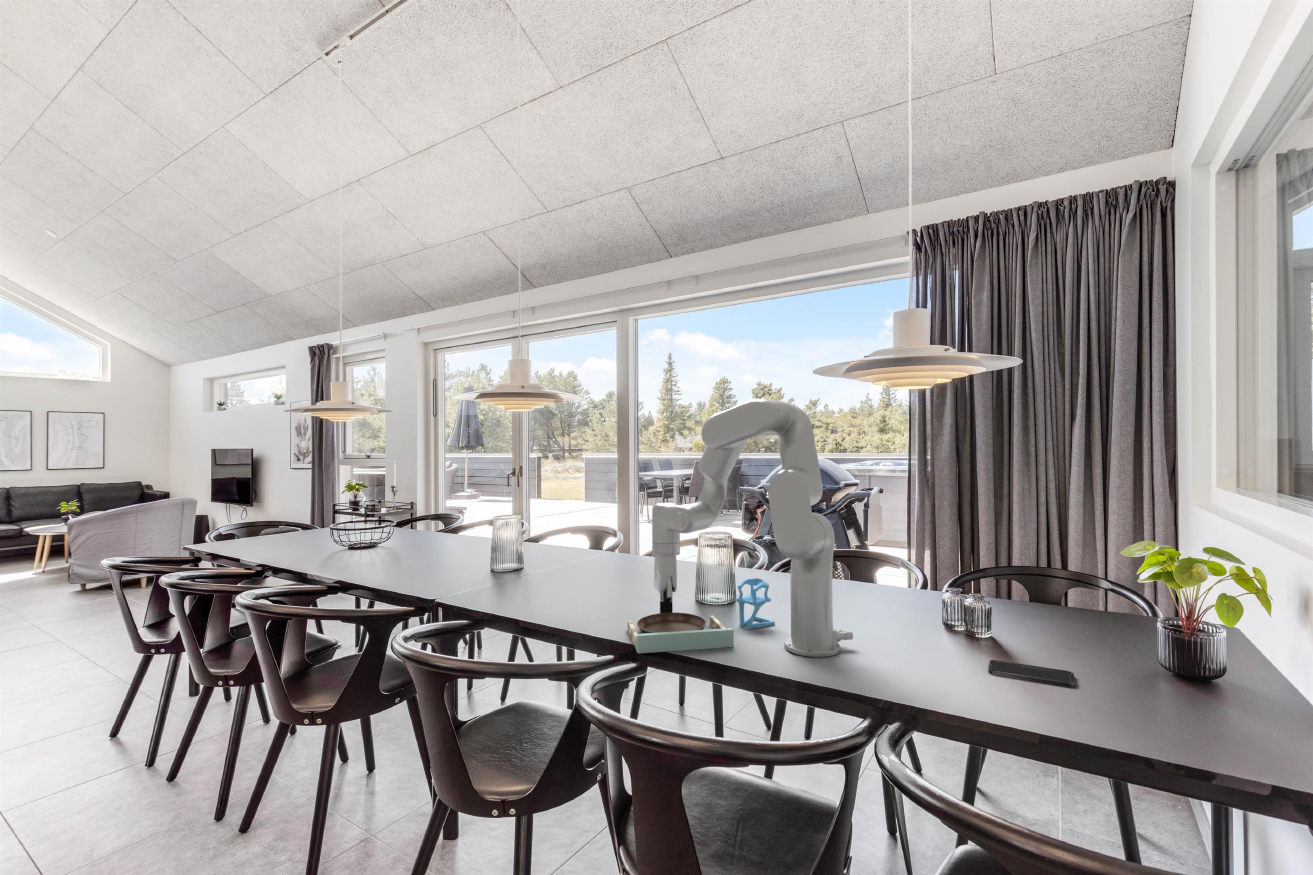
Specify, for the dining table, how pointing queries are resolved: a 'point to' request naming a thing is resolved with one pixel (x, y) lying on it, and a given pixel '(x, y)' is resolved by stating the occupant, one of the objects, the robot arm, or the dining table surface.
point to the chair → (753, 603)
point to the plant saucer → (670, 623)
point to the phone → (1032, 673)
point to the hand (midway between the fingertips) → (666, 615)
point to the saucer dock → (683, 639)
